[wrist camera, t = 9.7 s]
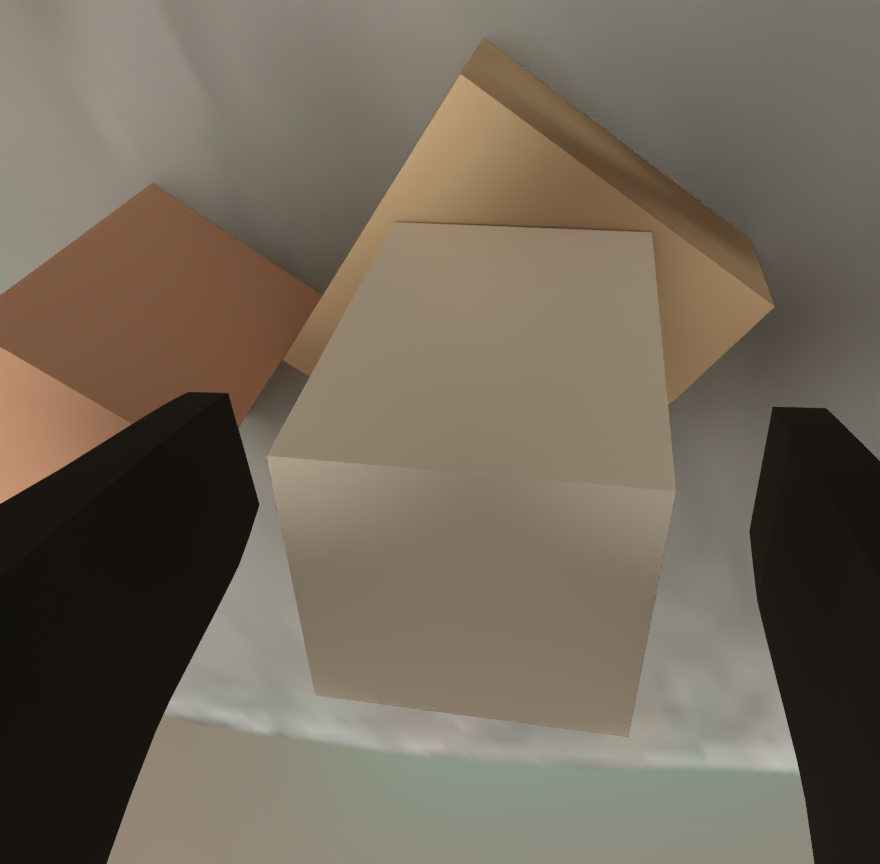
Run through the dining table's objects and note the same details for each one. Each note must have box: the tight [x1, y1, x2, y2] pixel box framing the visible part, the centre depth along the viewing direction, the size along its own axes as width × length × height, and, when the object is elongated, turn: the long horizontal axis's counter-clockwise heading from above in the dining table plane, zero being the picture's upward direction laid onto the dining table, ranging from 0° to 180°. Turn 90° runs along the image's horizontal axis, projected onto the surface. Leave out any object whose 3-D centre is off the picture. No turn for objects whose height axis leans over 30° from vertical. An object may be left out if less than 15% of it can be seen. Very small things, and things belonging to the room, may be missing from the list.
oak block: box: [283, 39, 775, 406], centre depth 15 cm, size 6×6×3 cm
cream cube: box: [267, 222, 676, 737], centre depth 11 cm, size 4×4×6 cm
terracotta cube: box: [0, 183, 323, 504], centre depth 15 cm, size 4×4×6 cm
